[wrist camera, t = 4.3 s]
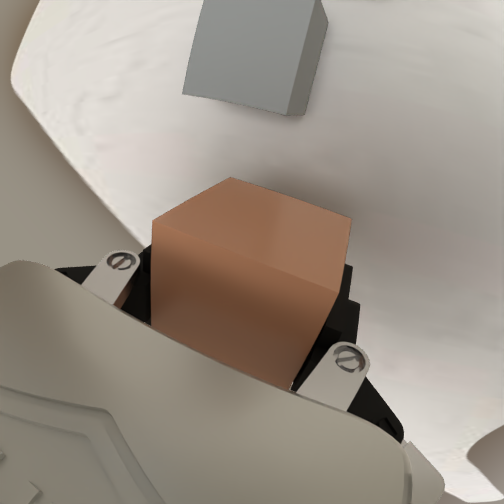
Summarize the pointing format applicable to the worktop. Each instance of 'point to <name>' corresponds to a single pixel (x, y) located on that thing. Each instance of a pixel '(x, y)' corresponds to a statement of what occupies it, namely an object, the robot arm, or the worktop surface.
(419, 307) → the worktop surface
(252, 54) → the slate grey block
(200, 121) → the worktop surface
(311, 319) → the terracotta block
